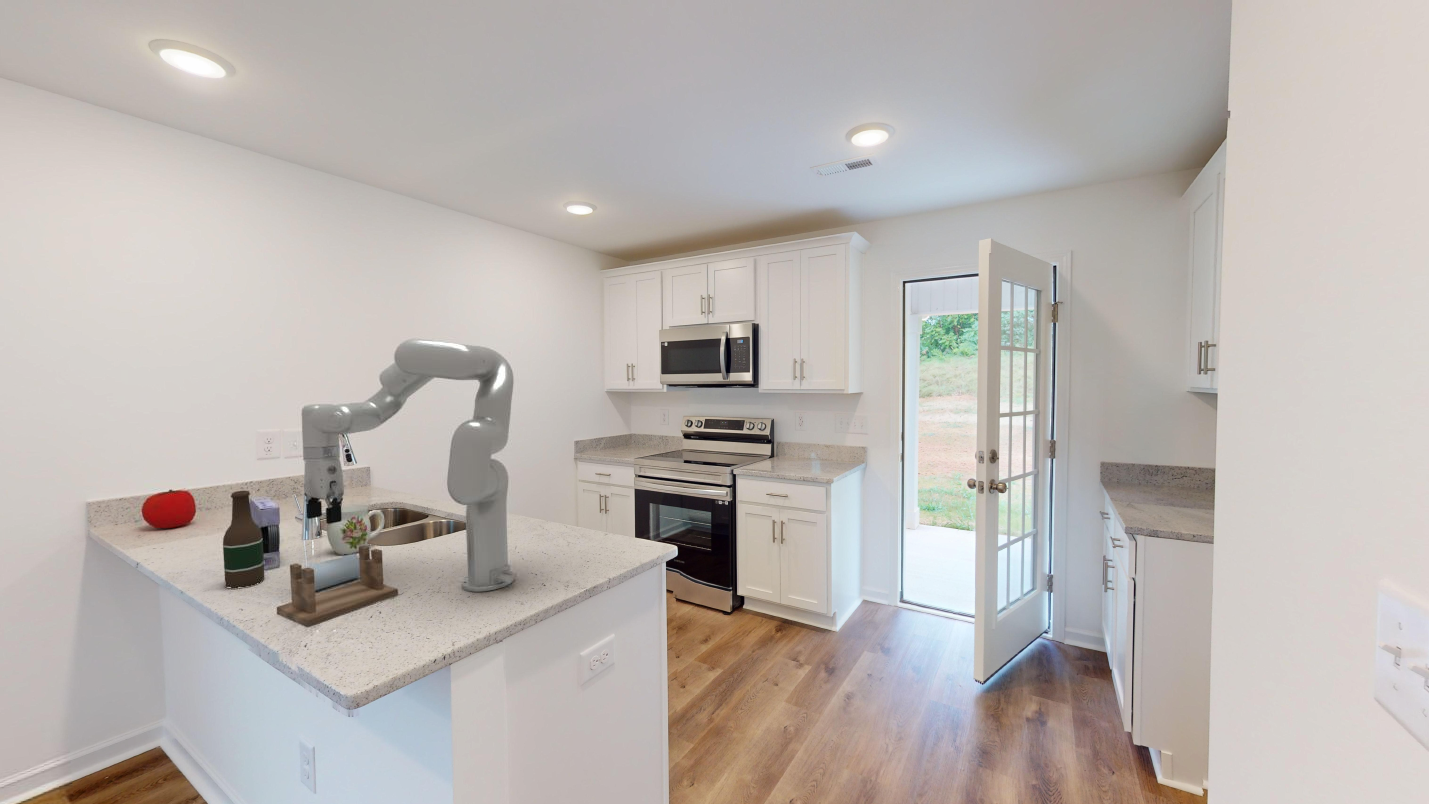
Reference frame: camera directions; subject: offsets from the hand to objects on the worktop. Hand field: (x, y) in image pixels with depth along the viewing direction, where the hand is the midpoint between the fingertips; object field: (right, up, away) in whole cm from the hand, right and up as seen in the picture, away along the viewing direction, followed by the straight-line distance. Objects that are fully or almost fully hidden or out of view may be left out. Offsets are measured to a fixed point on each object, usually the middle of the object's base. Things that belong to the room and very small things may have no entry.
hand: (324, 520), depth 137 cm
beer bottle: (-22, -17, +2) cm, 28 cm away
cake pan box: (-30, -17, +18) cm, 39 cm away
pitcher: (-11, -16, +28) cm, 34 cm away
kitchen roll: (+1, -17, +1) cm, 17 cm away
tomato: (-98, -16, +58) cm, 115 cm away
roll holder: (+12, -17, -11) cm, 24 cm away
